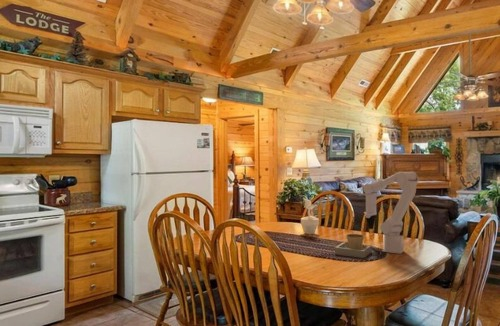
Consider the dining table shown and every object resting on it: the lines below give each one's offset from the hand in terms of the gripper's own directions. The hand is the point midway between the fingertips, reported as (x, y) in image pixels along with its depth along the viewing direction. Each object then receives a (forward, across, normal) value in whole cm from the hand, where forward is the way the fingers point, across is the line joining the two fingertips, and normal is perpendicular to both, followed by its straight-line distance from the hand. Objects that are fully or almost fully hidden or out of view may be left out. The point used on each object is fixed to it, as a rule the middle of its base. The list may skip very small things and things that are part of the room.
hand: (371, 228), depth 213 cm
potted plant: (+10, -13, -42) cm, 45 cm away
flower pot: (+10, +19, -4) cm, 22 cm away
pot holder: (+9, +21, -4) cm, 24 cm away
